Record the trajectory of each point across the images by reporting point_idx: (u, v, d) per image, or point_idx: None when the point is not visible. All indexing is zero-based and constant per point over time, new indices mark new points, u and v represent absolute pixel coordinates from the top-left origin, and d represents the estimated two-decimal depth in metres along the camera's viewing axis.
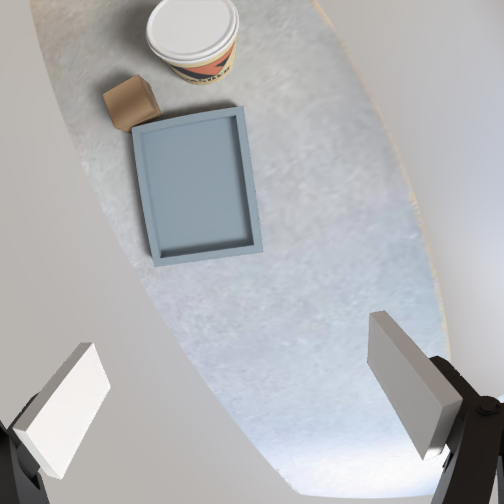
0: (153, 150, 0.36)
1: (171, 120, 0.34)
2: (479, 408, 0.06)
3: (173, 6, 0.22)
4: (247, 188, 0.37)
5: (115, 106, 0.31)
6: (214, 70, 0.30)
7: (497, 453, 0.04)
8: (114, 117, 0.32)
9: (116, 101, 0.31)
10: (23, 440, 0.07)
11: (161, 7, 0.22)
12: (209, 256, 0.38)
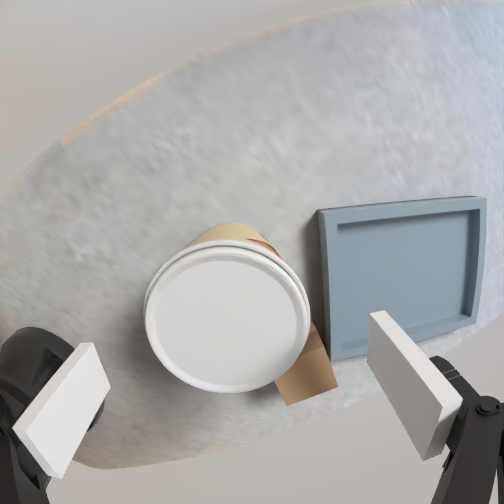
0: (360, 329, 0.28)
1: (333, 312, 0.26)
2: (479, 408, 0.06)
3: (187, 357, 0.16)
4: (428, 212, 0.24)
5: (309, 389, 0.26)
6: None
7: (497, 453, 0.04)
8: (323, 388, 0.26)
9: (302, 389, 0.25)
10: (23, 440, 0.07)
11: (187, 374, 0.17)
12: (481, 261, 0.26)
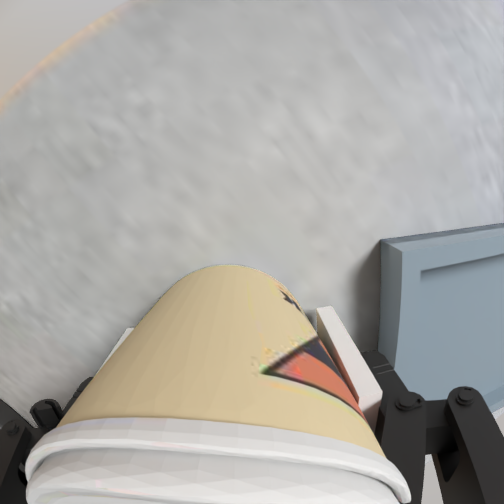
0: None
1: None
2: (398, 404, 0.07)
3: None
4: None
5: None
6: None
7: (424, 446, 0.06)
8: None
9: None
10: None
11: None
12: None
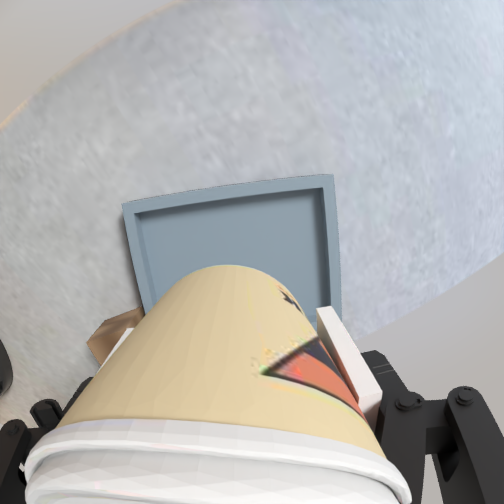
0: None
1: (144, 299, 0.27)
2: (398, 404, 0.07)
3: None
4: (238, 195, 0.25)
5: None
6: None
7: (424, 447, 0.06)
8: None
9: None
10: None
11: None
12: (335, 252, 0.26)
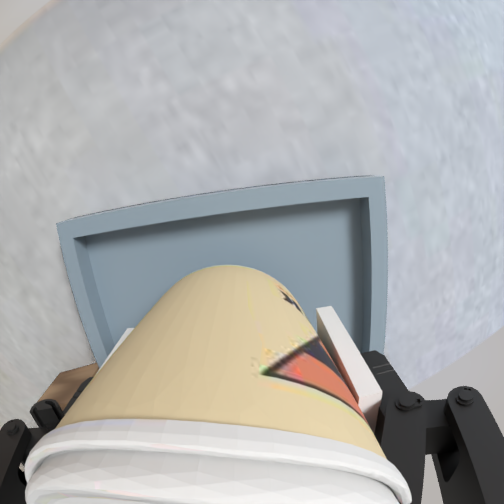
0: None
1: (99, 359, 0.17)
2: (398, 404, 0.07)
3: None
4: (232, 209, 0.15)
5: None
6: None
7: (424, 446, 0.06)
8: None
9: None
10: None
11: None
12: (381, 296, 0.16)
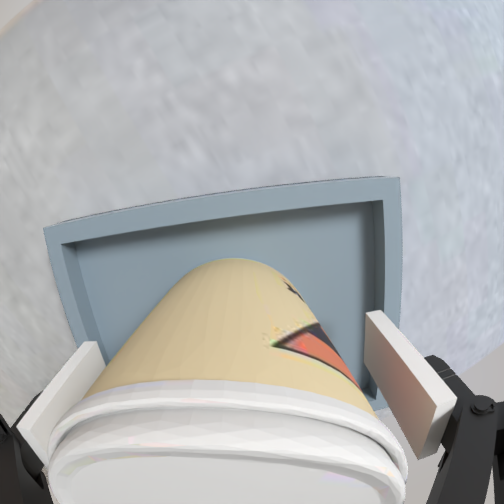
0: None
1: None
2: (473, 407, 0.06)
3: None
4: (233, 213, 0.14)
5: None
6: None
7: (492, 453, 0.05)
8: None
9: None
10: (27, 439, 0.07)
11: None
12: (394, 307, 0.15)
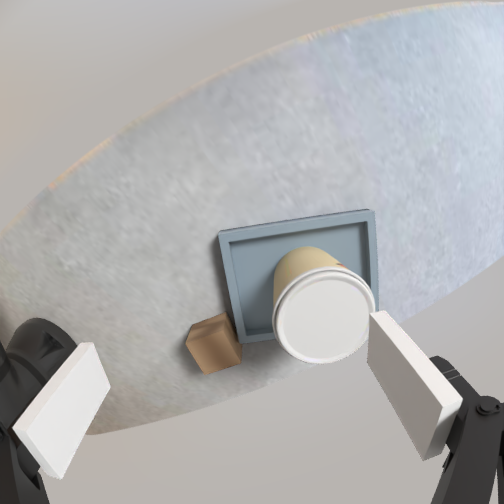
0: (263, 320, 0.39)
1: (234, 306, 0.37)
2: (479, 408, 0.06)
3: (301, 341, 0.26)
4: (309, 228, 0.34)
5: (218, 362, 0.36)
6: None
7: (497, 453, 0.04)
8: (230, 363, 0.36)
9: (213, 362, 0.36)
10: (23, 440, 0.07)
11: (299, 353, 0.26)
12: (375, 266, 0.35)
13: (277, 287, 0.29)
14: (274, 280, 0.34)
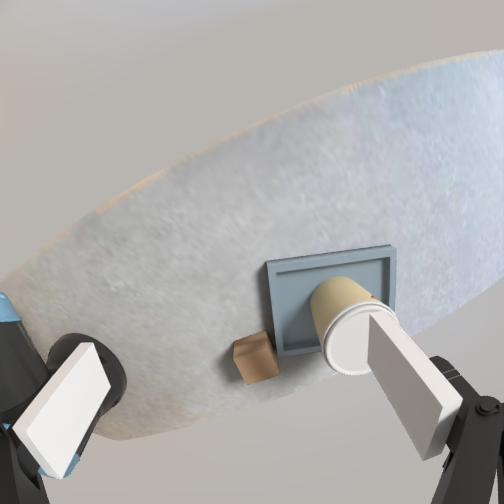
0: (298, 337, 0.44)
1: (276, 326, 0.42)
2: (479, 408, 0.06)
3: (343, 358, 0.32)
4: (343, 262, 0.40)
5: (260, 374, 0.41)
6: None
7: (497, 453, 0.04)
8: (270, 375, 0.41)
9: (256, 374, 0.41)
10: (23, 440, 0.07)
11: (340, 367, 0.32)
12: (393, 293, 0.41)
13: (322, 314, 0.35)
14: (314, 306, 0.39)
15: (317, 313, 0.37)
